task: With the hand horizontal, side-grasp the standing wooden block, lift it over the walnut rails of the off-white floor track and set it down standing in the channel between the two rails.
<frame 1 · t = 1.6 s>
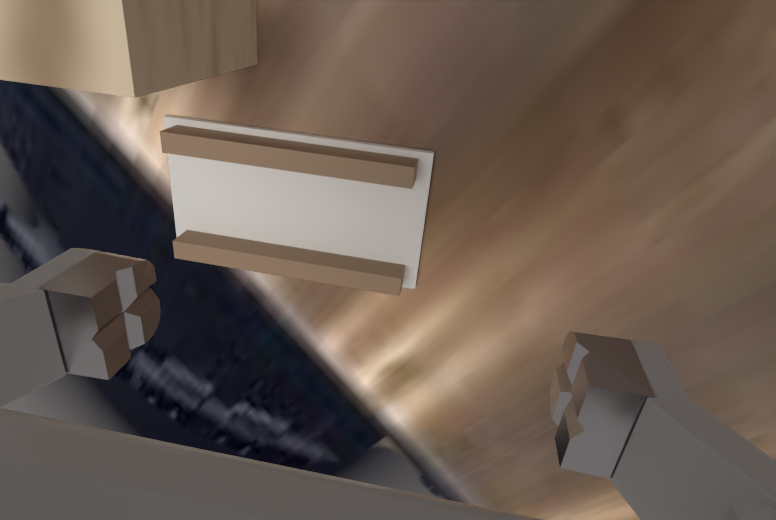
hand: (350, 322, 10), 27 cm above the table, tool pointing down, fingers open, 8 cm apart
track: (296, 203, 39), on the table
wooden block: (200, 22, 34), on the table
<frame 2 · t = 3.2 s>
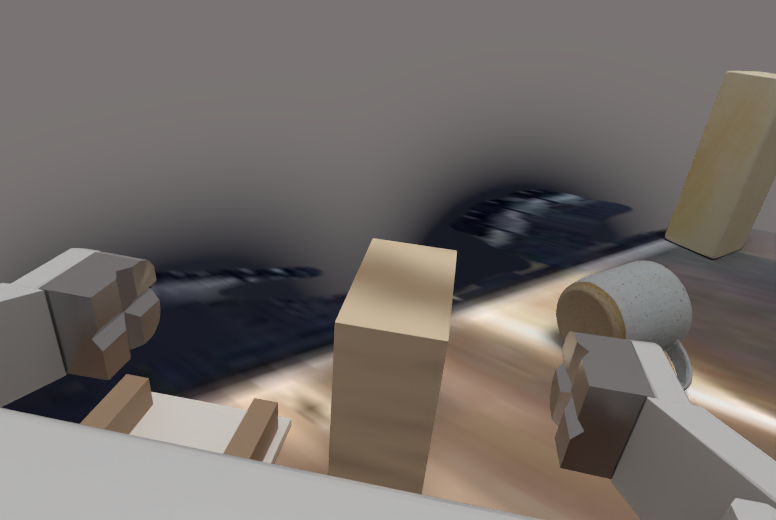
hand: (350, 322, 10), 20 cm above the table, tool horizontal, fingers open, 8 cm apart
toy refrigerator: (699, 243, 67), on the table
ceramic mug: (620, 360, 43), on the table
wooden block: (380, 485, 30), on the table
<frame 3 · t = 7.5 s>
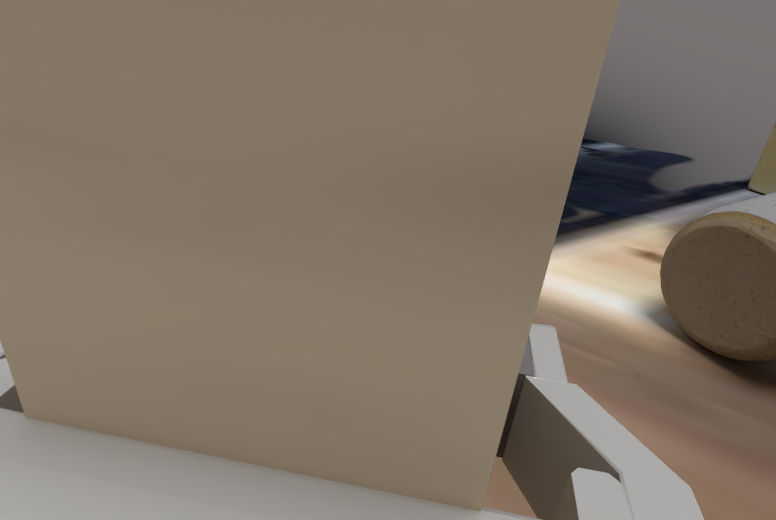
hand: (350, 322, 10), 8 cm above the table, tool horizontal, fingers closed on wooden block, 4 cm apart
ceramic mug: (771, 353, 25), on the table
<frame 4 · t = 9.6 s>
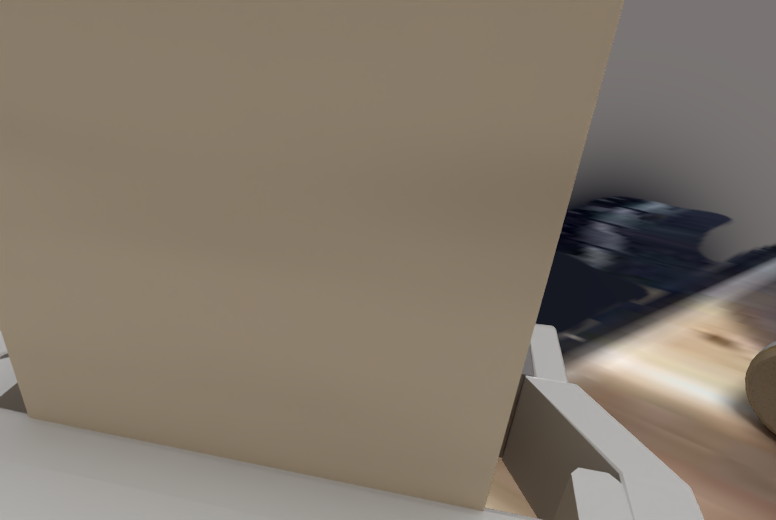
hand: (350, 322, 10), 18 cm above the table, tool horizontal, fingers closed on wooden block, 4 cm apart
when the fingers open (10 cm above the table, at t = 12.0 s): wooden block drops 1 cm, resting on track.
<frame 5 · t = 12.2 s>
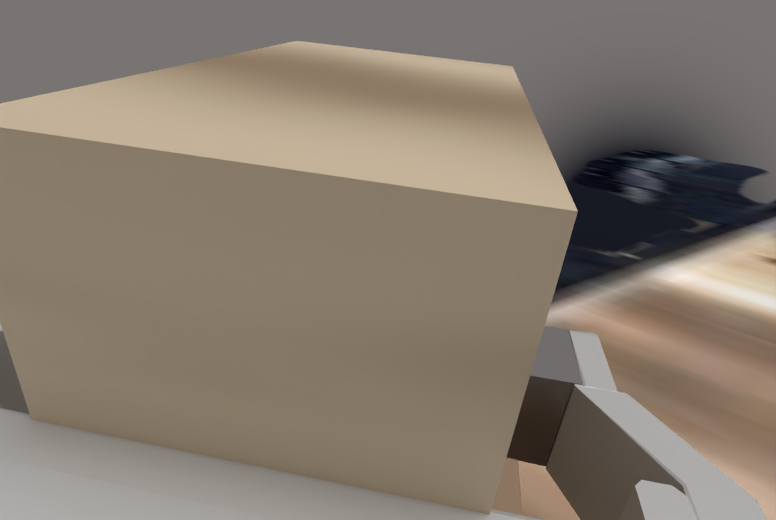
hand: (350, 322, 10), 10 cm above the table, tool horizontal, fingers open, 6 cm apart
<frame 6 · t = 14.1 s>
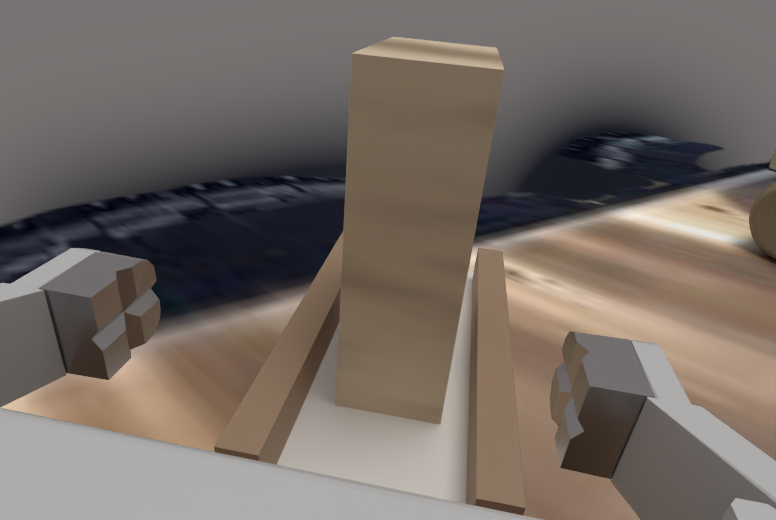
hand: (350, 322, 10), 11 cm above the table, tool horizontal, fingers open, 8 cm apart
track: (397, 365, 25), on the table
wooden block: (400, 356, 25), point 1 cm above the table, touching track
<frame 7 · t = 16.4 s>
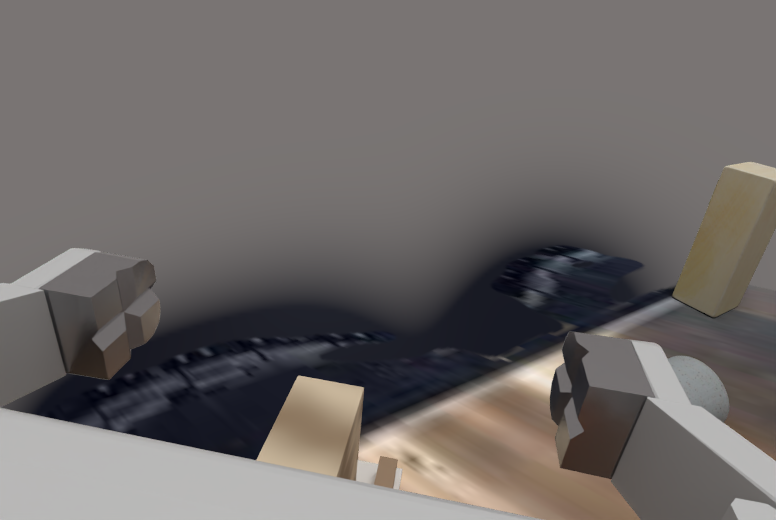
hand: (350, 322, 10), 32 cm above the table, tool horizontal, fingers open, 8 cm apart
toy refrigerator: (701, 301, 78), on the table
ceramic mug: (667, 439, 52), on the table
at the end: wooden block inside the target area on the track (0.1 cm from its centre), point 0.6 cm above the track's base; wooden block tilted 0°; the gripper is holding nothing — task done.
